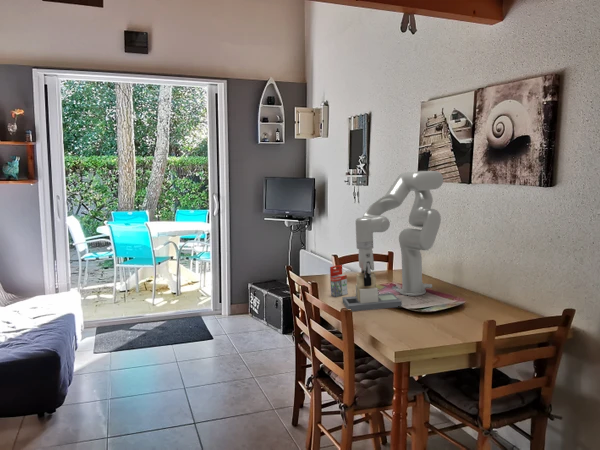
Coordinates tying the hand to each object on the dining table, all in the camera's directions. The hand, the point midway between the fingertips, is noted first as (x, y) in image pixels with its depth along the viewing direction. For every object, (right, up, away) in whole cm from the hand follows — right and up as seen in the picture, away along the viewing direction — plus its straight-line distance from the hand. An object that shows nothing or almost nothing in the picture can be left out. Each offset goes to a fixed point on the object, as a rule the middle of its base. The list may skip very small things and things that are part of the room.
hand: (366, 284), depth 217 cm
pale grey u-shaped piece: (0, -7, +1) cm, 7 cm away
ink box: (-11, -8, +20) cm, 24 cm away
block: (0, -7, +1) cm, 7 cm away
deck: (+3, -10, +1) cm, 10 cm away
